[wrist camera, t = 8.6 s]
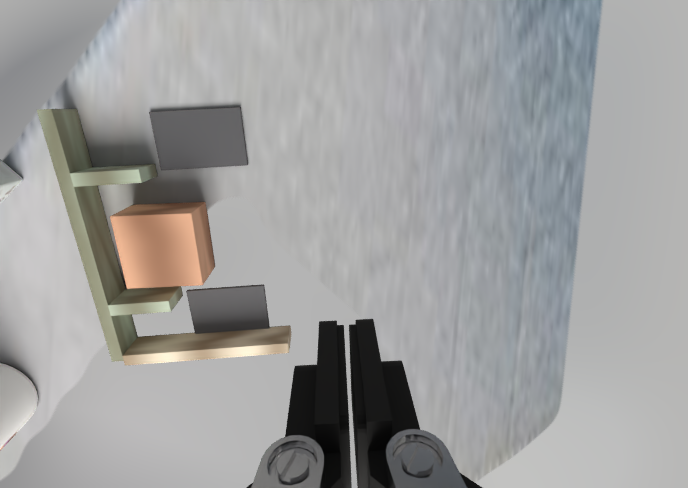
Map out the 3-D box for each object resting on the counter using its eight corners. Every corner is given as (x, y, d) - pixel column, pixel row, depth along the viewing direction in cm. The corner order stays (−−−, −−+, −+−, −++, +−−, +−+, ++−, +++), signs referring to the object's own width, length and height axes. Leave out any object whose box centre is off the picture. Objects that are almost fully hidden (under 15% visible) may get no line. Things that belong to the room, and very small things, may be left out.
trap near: (240, 107, 30) (239, 107, 30) (248, 164, 32) (247, 165, 32) (150, 111, 30) (149, 112, 30) (162, 169, 32) (161, 170, 31)
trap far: (263, 284, 36) (263, 285, 35) (269, 326, 37) (269, 328, 37) (187, 289, 35) (186, 291, 35) (196, 332, 37) (195, 333, 37)
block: (205, 201, 33) (191, 213, 29) (215, 266, 35) (202, 285, 31) (134, 204, 33) (110, 216, 29) (147, 269, 35) (127, 288, 31)
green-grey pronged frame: (264, 99, 30) (259, 98, 28) (291, 334, 38) (288, 352, 35) (63, 109, 30) (36, 109, 27) (129, 346, 37) (113, 366, 34)
